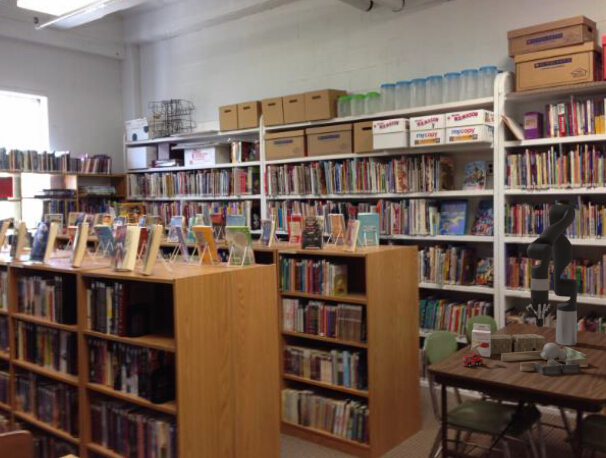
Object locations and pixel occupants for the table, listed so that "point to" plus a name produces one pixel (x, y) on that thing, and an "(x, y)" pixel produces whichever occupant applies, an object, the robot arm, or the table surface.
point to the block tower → (516, 343)
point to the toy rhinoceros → (553, 352)
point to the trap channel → (548, 362)
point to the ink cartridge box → (482, 338)
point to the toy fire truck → (476, 357)
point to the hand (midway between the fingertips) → (539, 326)
